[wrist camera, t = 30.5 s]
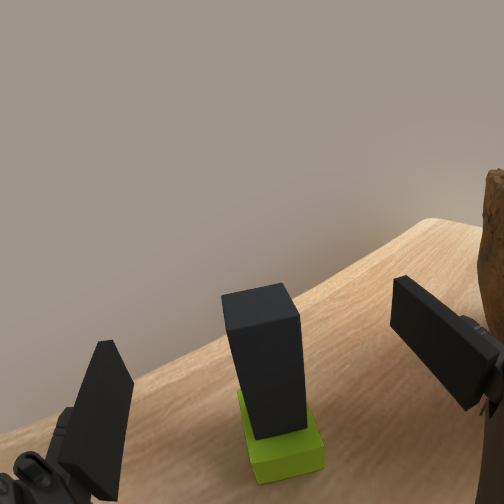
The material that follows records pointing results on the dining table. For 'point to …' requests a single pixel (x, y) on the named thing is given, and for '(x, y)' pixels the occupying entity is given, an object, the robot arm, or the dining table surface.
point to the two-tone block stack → (272, 383)
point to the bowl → (493, 254)
